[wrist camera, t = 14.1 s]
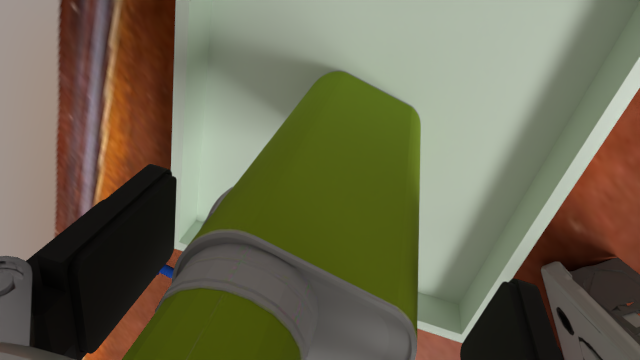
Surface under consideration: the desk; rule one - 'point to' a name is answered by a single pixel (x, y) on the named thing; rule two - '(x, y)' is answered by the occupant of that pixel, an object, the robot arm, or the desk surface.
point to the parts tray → (432, 106)
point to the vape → (307, 242)
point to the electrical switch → (595, 310)
